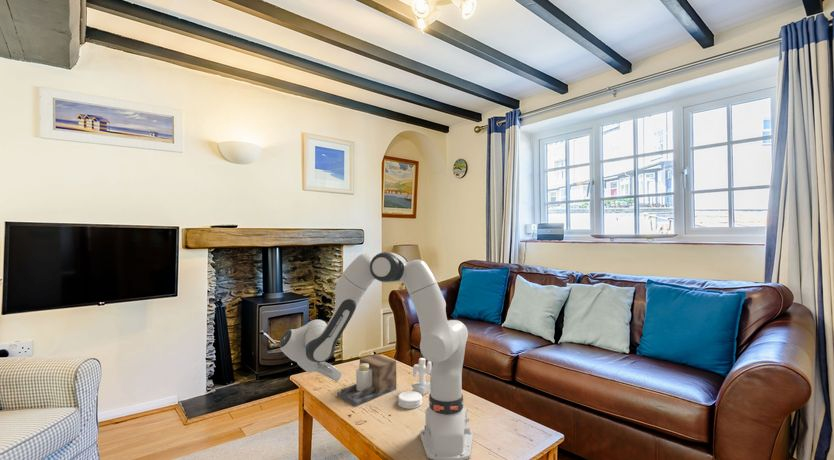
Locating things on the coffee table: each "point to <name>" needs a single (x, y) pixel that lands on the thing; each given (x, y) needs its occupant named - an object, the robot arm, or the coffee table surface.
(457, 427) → the robot arm
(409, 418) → the coffee table surface
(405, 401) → the coaster
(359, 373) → the knob
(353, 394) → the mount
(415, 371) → the figurine
